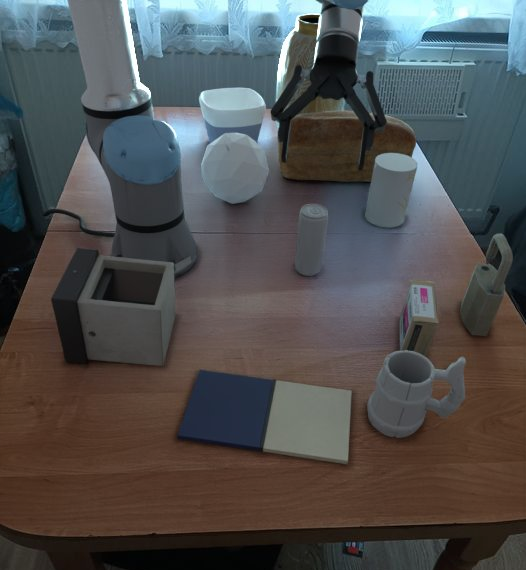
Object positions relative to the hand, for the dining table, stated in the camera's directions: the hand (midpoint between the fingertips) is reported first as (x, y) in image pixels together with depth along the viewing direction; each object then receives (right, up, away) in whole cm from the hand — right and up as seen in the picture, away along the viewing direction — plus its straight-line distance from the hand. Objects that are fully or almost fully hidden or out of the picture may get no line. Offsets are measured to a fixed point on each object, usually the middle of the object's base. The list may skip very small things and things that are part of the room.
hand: (322, 163), depth 95 cm
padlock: (+25, -28, -5) cm, 38 cm away
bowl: (-18, +19, +41) cm, 49 cm away
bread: (+8, +8, +32) cm, 34 cm away
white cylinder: (+15, -5, +18) cm, 24 cm away
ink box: (+13, -32, -9) cm, 35 cm away
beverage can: (-2, -18, +4) cm, 19 cm away
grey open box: (-32, -31, -11) cm, 46 cm away
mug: (+10, -42, -21) cm, 48 cm away
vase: (+1, +23, +46) cm, 52 cm away
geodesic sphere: (-16, 0, +22) cm, 27 cm away
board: (-10, -42, -21) cm, 48 cm away
